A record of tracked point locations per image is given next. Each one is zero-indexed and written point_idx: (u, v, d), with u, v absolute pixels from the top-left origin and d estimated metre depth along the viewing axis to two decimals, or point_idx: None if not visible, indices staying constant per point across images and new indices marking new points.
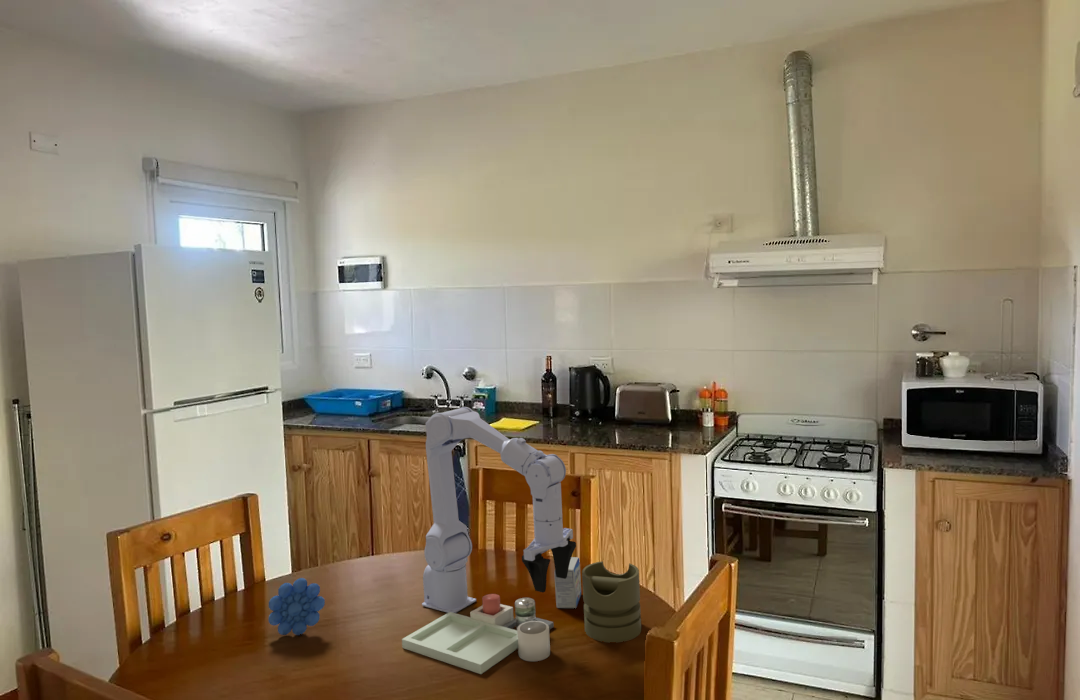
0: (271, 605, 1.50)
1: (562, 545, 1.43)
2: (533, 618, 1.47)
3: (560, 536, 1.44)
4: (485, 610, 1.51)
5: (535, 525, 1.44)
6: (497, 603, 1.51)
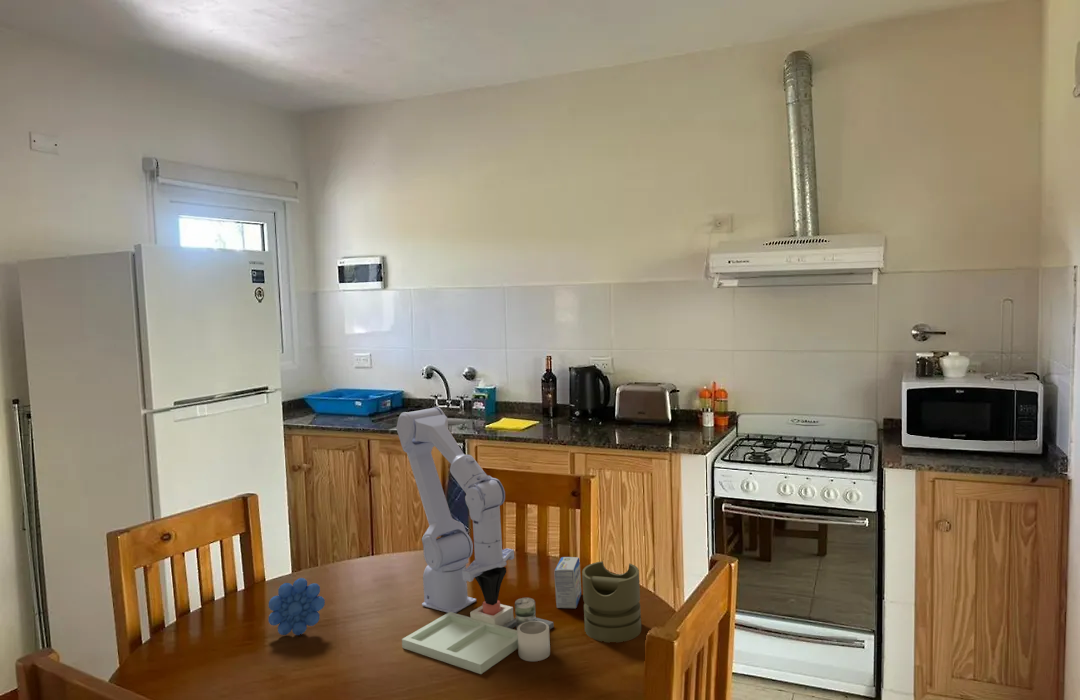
0: (271, 605, 1.50)
1: (500, 566, 1.48)
2: (533, 618, 1.47)
3: (498, 557, 1.49)
4: None
5: (475, 546, 1.50)
6: (497, 608, 1.51)
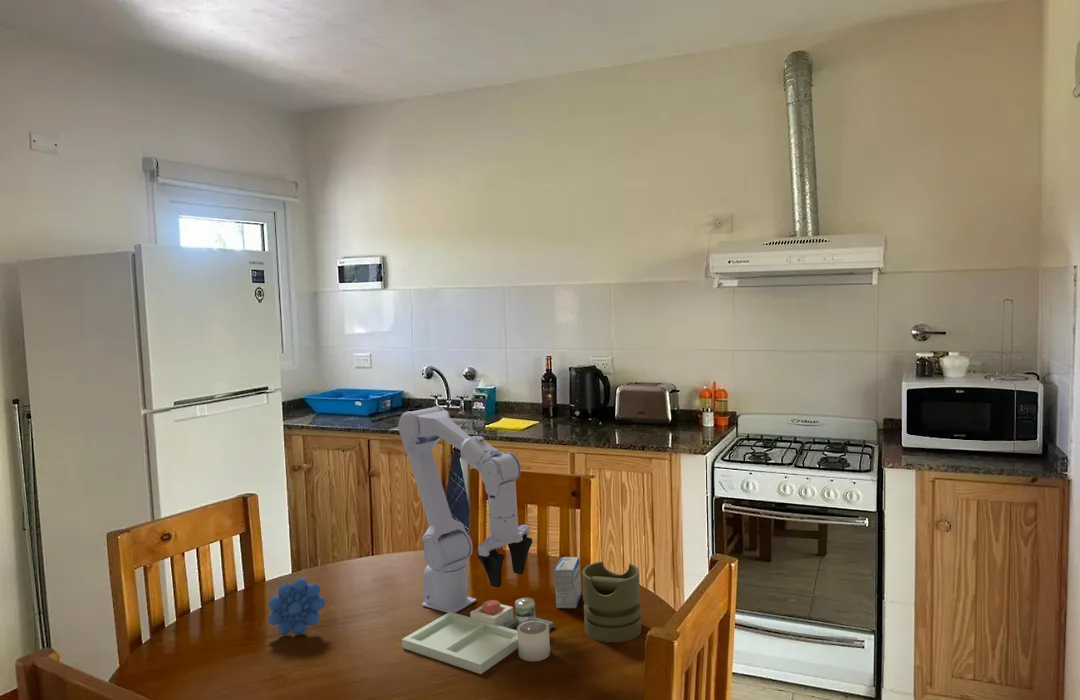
0: (271, 605, 1.50)
1: (516, 541, 1.46)
2: (533, 618, 1.47)
3: (515, 532, 1.47)
4: None
5: (490, 522, 1.47)
6: (497, 609, 1.51)
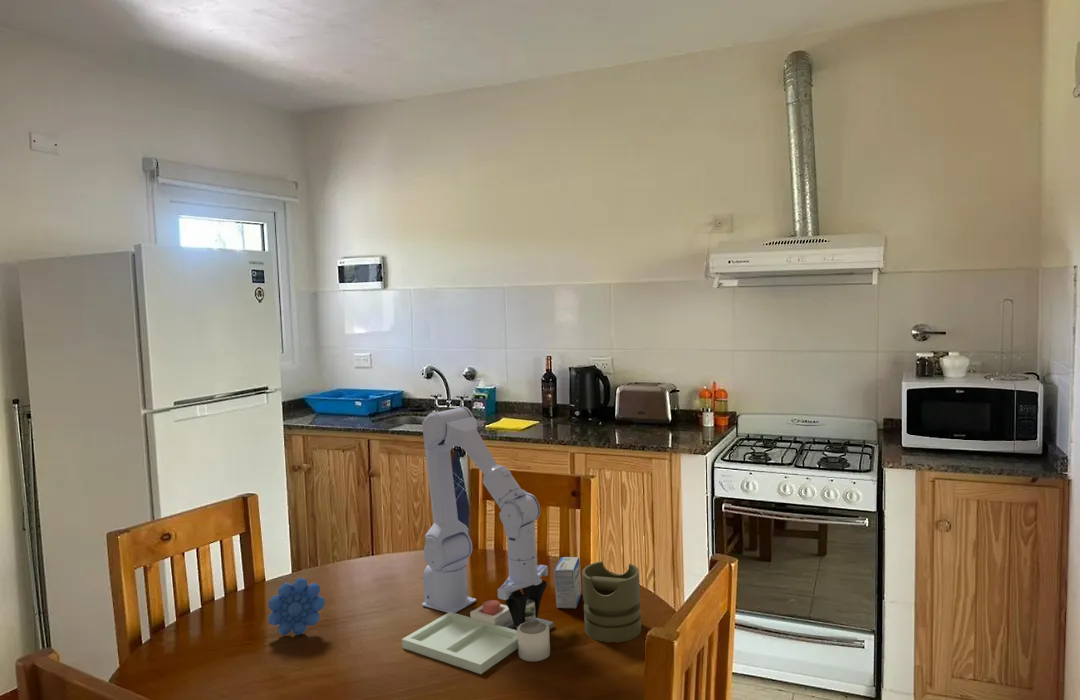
0: (271, 605, 1.50)
1: (536, 584, 1.45)
2: (533, 618, 1.47)
3: (534, 574, 1.46)
4: None
5: (509, 563, 1.46)
6: (497, 609, 1.51)
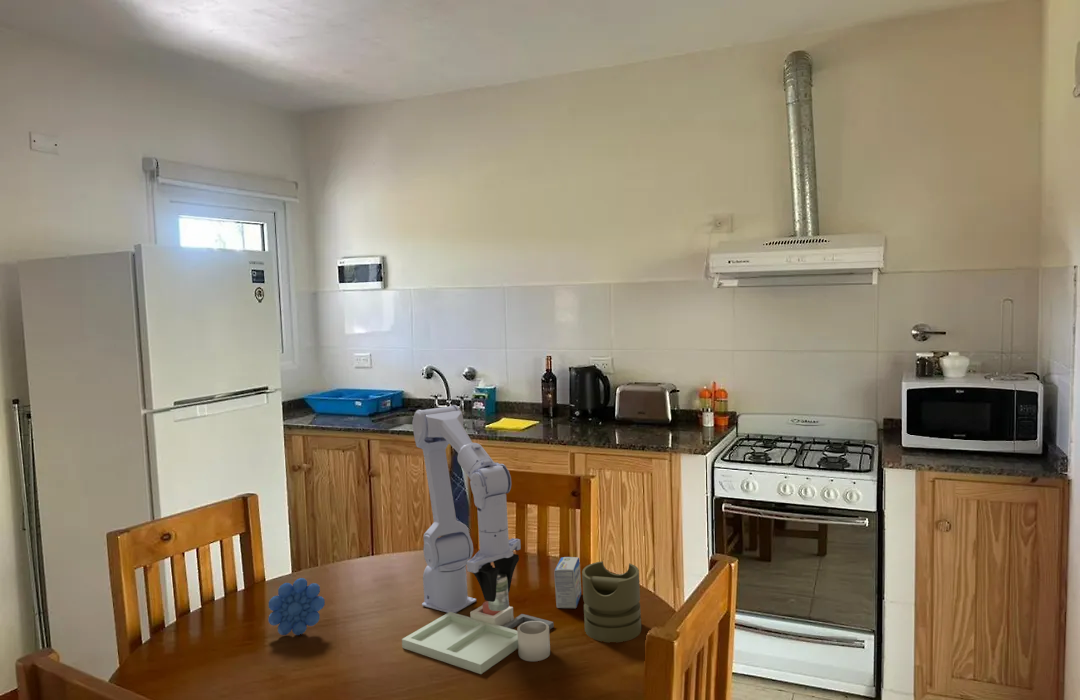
0: (271, 605, 1.50)
1: (507, 556, 1.40)
2: (506, 593, 1.42)
3: (505, 547, 1.41)
4: None
5: (480, 536, 1.41)
6: None
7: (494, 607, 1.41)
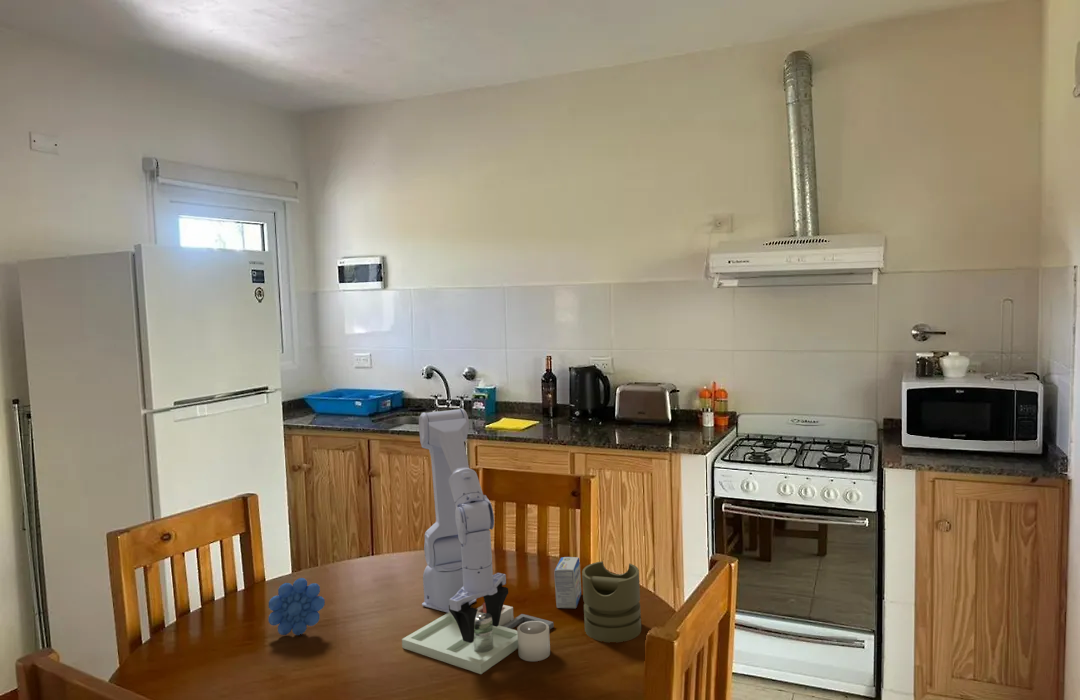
0: (271, 605, 1.50)
1: (491, 593, 1.37)
2: (490, 634, 1.40)
3: (489, 584, 1.38)
4: None
5: (463, 572, 1.39)
6: None
7: (478, 648, 1.39)
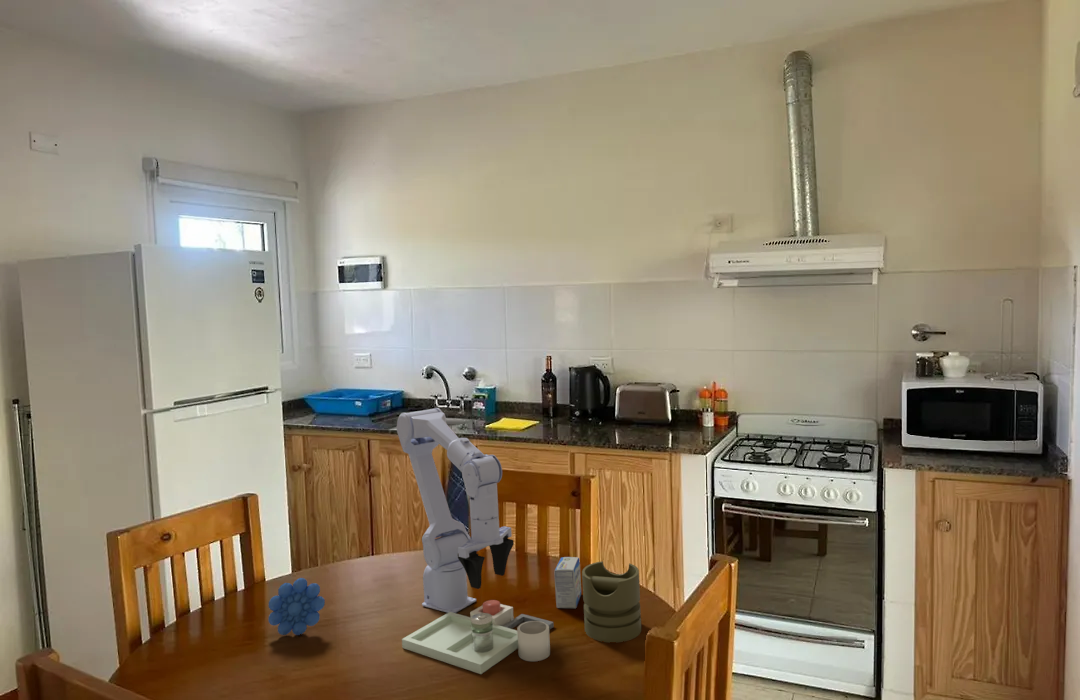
0: (271, 605, 1.50)
1: (497, 543, 1.46)
2: (490, 634, 1.40)
3: (495, 534, 1.47)
4: None
5: (471, 523, 1.48)
6: (497, 609, 1.51)
7: (478, 648, 1.39)
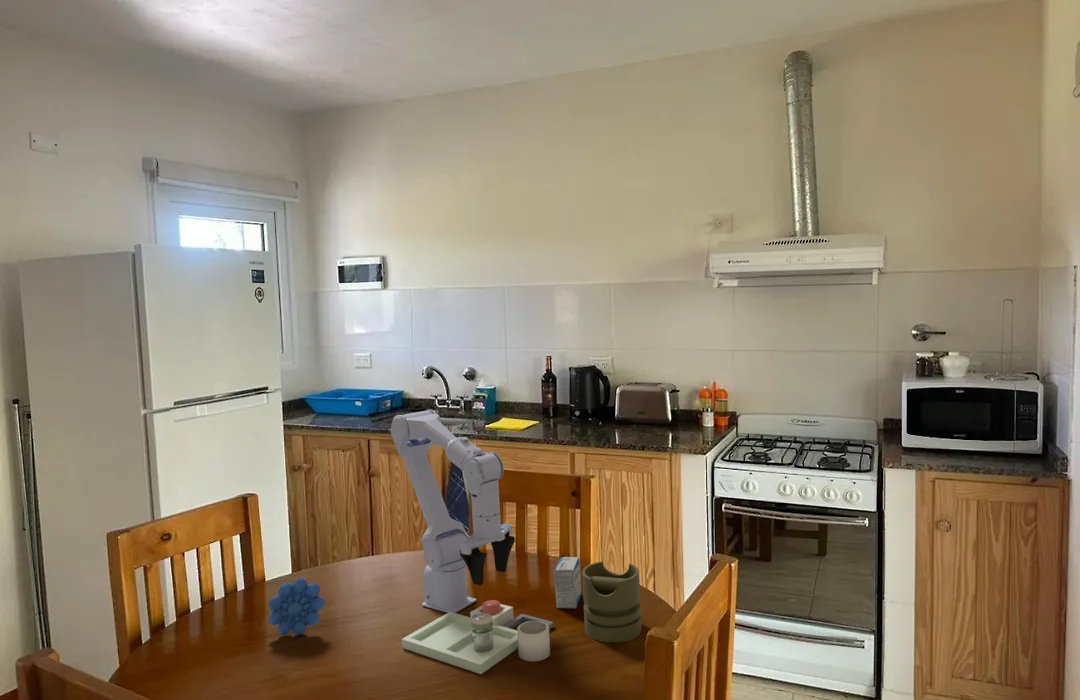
0: (271, 605, 1.50)
1: (499, 539, 1.48)
2: (490, 634, 1.40)
3: (497, 531, 1.49)
4: None
5: (473, 520, 1.49)
6: (497, 609, 1.51)
7: (478, 648, 1.39)
